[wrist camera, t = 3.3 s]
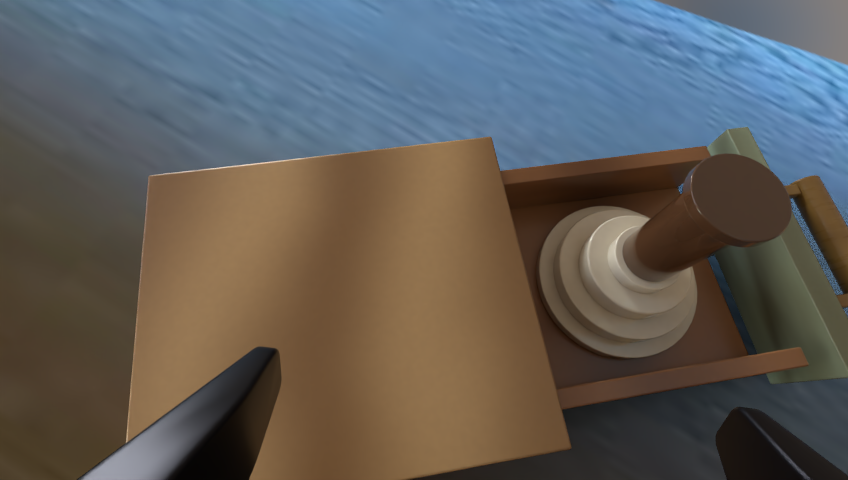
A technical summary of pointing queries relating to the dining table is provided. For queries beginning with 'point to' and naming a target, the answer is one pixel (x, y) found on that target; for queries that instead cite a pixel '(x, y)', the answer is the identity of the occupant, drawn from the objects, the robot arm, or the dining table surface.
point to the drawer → (697, 280)
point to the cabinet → (351, 310)
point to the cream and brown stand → (654, 257)
